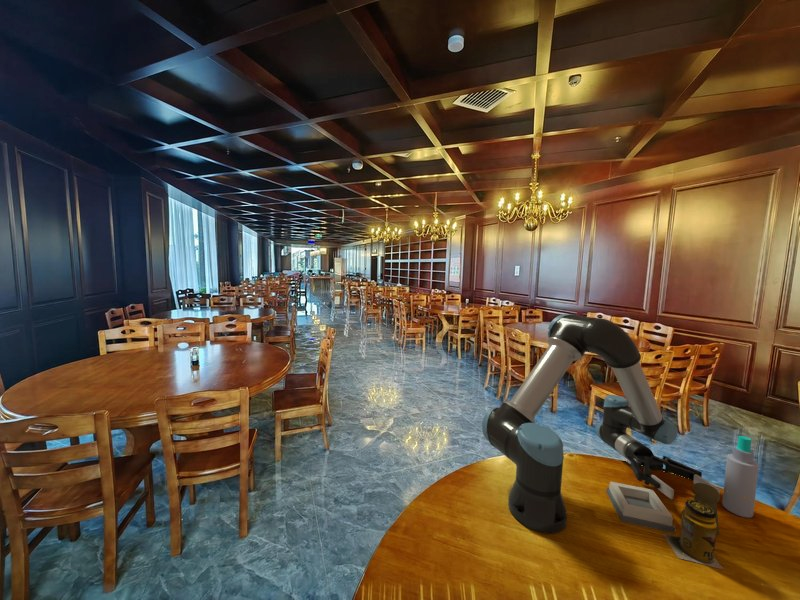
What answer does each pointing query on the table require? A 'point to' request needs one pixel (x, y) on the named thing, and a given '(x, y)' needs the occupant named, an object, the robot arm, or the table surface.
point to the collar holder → (640, 507)
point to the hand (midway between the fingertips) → (695, 494)
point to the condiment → (696, 534)
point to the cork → (707, 497)
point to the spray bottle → (740, 479)
